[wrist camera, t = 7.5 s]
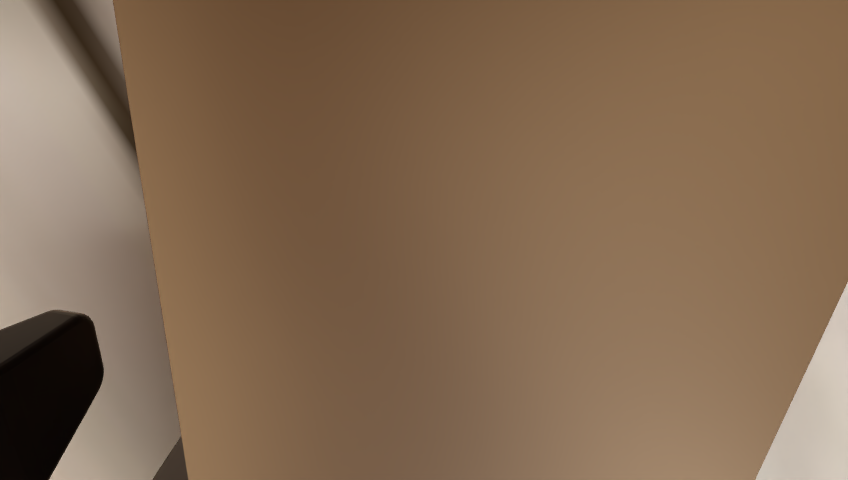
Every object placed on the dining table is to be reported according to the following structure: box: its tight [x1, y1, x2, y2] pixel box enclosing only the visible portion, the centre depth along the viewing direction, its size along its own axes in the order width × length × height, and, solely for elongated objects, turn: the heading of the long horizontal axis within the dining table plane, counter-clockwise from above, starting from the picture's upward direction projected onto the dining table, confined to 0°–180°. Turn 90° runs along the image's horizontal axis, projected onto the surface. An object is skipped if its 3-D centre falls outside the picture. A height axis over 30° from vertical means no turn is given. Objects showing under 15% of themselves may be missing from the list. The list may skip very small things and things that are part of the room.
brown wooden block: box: [113, 0, 848, 480], centre depth 8 cm, size 5×14×5 cm, turn 176°
